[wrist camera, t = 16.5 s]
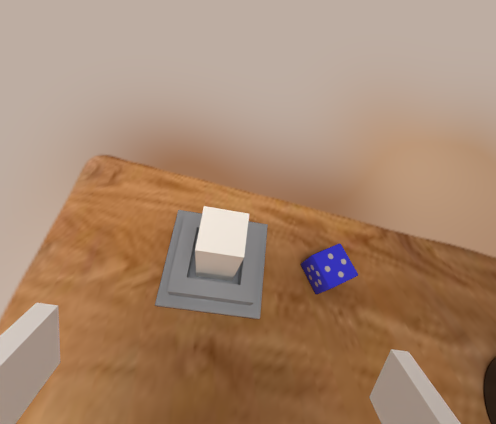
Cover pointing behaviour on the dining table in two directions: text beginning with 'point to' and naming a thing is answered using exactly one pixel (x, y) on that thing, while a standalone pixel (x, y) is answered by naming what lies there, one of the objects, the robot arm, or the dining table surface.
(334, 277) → the die
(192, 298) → the socket
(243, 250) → the plug
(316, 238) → the dining table surface
